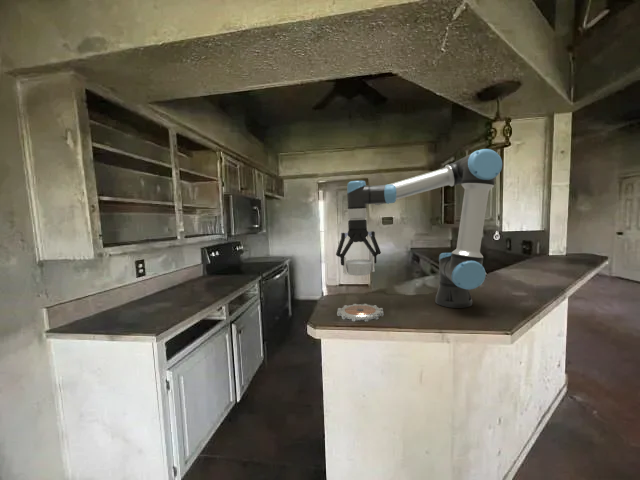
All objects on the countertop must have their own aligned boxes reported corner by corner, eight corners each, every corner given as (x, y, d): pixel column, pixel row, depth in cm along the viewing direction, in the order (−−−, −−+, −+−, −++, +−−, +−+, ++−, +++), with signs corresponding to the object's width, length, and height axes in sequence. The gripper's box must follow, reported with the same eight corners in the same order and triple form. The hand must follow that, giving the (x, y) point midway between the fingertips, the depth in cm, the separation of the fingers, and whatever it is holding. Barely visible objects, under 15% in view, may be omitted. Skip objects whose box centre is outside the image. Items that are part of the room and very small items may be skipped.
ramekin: (372, 276, 125) (372, 263, 124) (344, 276, 127) (343, 263, 126) (372, 271, 136) (372, 258, 135) (346, 271, 138) (346, 259, 137)
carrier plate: (375, 305, 143) (375, 301, 143) (390, 319, 124) (390, 315, 124) (333, 308, 141) (333, 305, 141) (342, 323, 122) (341, 319, 122)
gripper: (382, 218, 134) (383, 268, 136) (327, 220, 132) (329, 272, 133) (388, 218, 127) (389, 272, 129) (330, 220, 124) (332, 275, 126)
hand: (358, 272), depth 131 cm, fingers closed on ramekin, 11 cm apart
